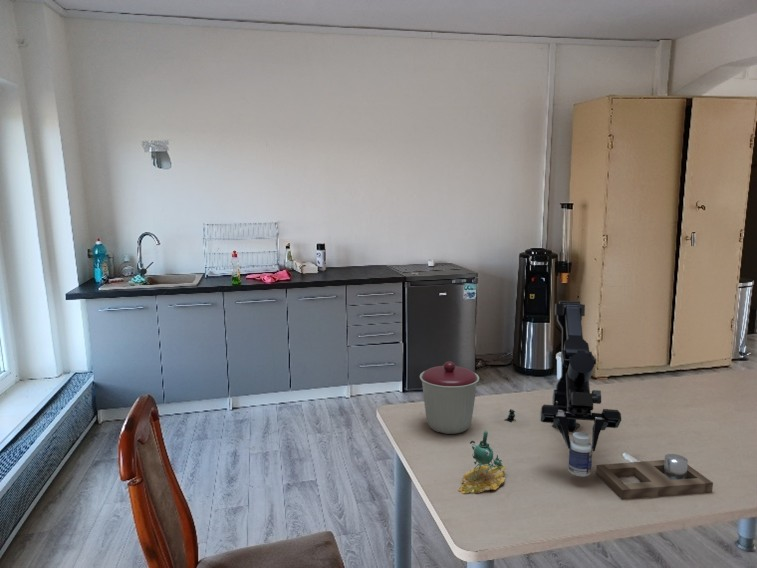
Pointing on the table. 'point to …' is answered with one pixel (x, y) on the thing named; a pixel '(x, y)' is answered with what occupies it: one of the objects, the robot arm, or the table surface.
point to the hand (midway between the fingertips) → (581, 449)
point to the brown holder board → (650, 480)
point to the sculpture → (511, 416)
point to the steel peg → (675, 467)
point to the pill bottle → (580, 454)
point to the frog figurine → (483, 470)
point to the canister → (449, 397)
